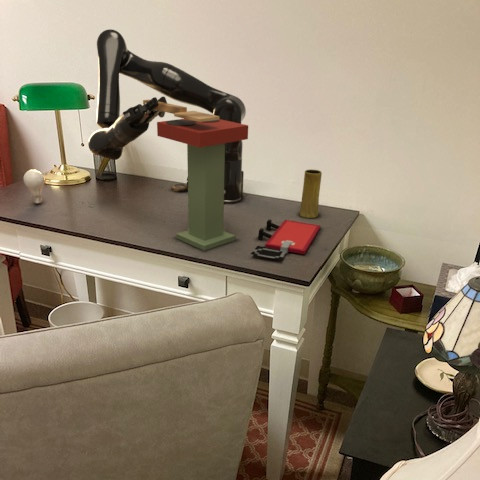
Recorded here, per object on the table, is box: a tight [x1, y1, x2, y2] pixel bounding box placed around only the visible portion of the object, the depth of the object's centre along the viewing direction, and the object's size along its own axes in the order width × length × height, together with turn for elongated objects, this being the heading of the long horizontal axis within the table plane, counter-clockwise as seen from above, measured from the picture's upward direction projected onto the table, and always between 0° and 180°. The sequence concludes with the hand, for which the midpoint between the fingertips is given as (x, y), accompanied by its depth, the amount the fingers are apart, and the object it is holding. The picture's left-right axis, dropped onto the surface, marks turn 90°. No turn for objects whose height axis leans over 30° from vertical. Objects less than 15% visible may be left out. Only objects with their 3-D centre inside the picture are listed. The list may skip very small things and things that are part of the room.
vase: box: [298, 169, 323, 219], centre depth 168 cm, size 6×6×14 cm
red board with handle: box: [250, 219, 321, 260], centre depth 150 cm, size 30×3×15 cm
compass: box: [171, 176, 188, 193], centre depth 188 cm, size 8×8×7 cm
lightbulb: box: [22, 169, 46, 205], centre depth 169 cm, size 6×6×11 cm
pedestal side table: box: [156, 118, 249, 251], centre depth 145 cm, size 18×17×31 cm
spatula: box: [142, 99, 219, 122], centre depth 136 cm, size 26×6×2 cm, turn 45°
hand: (160, 100), depth 139 cm, fingers closed on spatula, 2 cm apart
